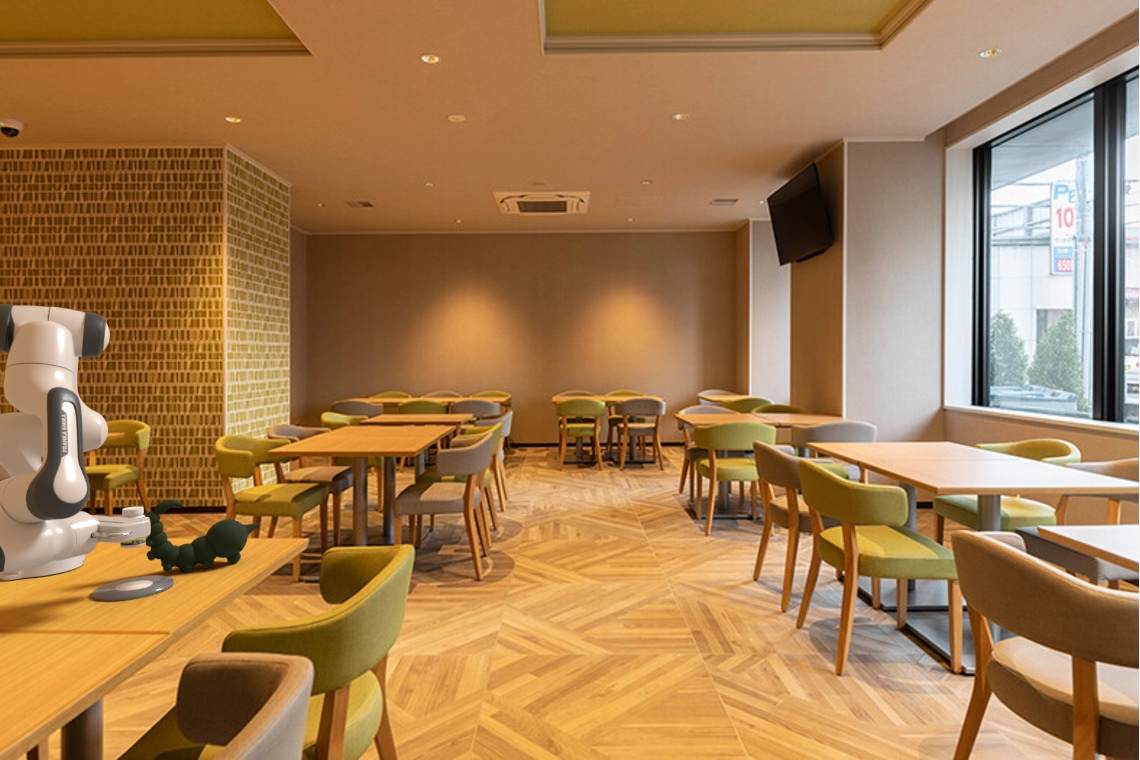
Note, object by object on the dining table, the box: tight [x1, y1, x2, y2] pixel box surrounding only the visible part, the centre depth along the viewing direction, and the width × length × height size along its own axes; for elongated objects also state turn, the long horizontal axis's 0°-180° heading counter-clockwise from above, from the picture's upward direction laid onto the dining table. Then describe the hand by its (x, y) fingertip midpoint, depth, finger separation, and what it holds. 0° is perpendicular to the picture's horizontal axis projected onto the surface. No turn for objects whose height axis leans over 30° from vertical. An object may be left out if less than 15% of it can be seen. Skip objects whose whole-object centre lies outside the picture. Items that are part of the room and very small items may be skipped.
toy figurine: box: [143, 499, 260, 574], centre depth 165 cm, size 9×19×25 cm
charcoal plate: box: [92, 575, 174, 602], centre depth 149 cm, size 15×15×1 cm
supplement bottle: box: [119, 506, 147, 549], centre depth 148 cm, size 5×5×8 cm
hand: (136, 520), depth 149 cm, fingers closed on supplement bottle, 5 cm apart
